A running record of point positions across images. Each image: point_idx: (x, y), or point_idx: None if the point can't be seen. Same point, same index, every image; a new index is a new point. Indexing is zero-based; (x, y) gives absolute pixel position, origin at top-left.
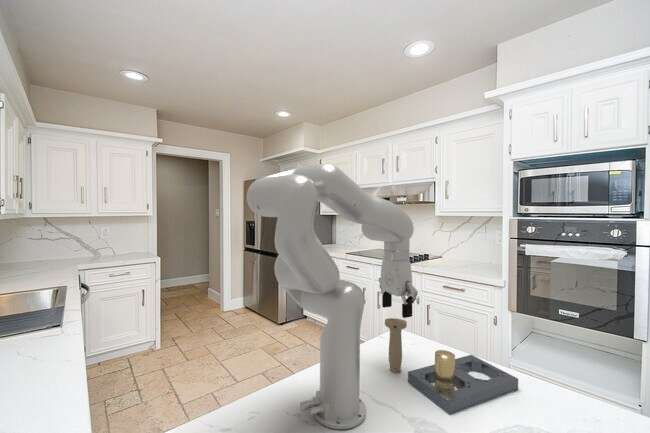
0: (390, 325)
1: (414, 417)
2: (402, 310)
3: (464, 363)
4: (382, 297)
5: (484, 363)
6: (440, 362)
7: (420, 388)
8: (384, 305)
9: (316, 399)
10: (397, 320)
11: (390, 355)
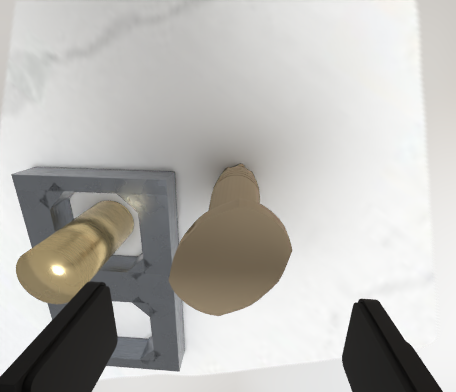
0: (212, 212)
1: (41, 81)
2: (64, 321)
3: (152, 330)
4: (431, 387)
5: (135, 361)
6: (44, 241)
7: (123, 172)
8: (361, 317)
9: None
10: (235, 283)
11: (234, 173)
